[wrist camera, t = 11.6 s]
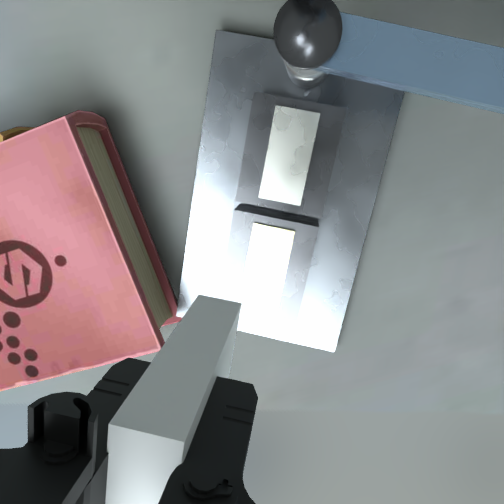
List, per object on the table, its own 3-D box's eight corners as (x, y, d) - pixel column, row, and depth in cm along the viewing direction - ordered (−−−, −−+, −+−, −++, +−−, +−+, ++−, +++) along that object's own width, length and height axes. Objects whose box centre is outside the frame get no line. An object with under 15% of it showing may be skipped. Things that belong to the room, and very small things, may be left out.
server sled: (220, 30, 24) (190, -6, 18) (408, 62, 23) (443, 36, 17) (180, 310, 29) (147, 354, 23) (333, 345, 29) (339, 400, 23)
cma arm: (271, 68, 18) (266, 59, 16) (285, 2, 17) (282, -15, 15) (652, 156, 17) (698, 158, 15) (685, 91, 16) (738, 83, 14)
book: (103, 106, 27) (58, 99, 22) (185, 316, 30) (161, 350, 25) (-70, 176, 30) (-143, 183, 25) (22, 360, 33) (-27, 398, 28)
